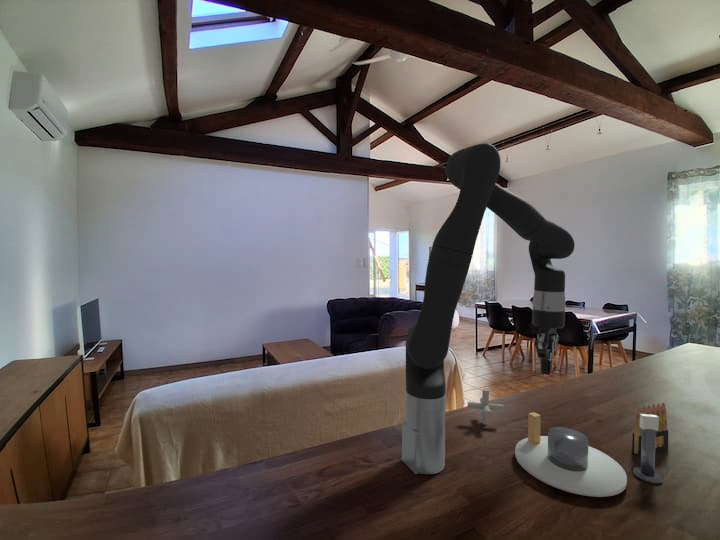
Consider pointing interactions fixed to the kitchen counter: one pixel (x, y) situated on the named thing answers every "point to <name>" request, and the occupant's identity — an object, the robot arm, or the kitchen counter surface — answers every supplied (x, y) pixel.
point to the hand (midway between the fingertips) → (546, 373)
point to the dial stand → (648, 450)
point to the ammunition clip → (660, 434)
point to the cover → (568, 449)
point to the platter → (594, 481)
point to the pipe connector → (485, 406)
